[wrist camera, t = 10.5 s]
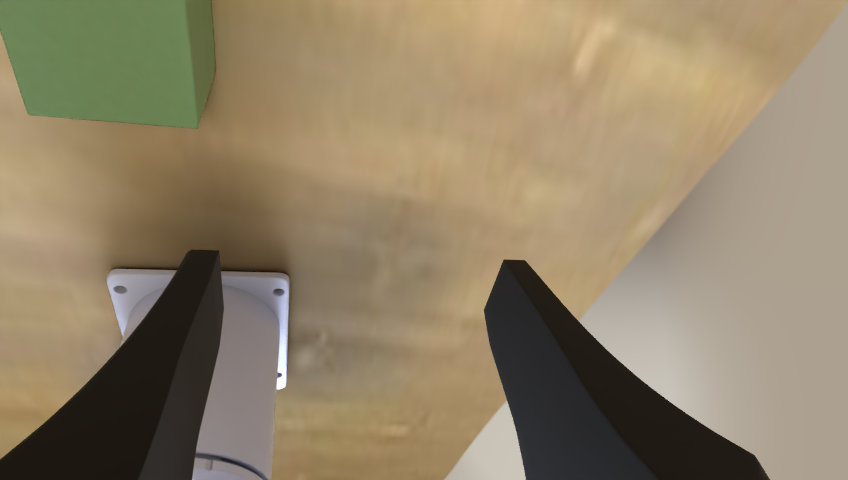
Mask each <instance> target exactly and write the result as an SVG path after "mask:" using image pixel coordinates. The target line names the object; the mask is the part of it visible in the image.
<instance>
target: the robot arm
mask: <svg viewBox="0 0 848 480" xmlns="http://www.w3.org/2000/svg"><path fill="white" fill-rule="evenodd" d="M106 282H107V285H108V289H109V292H110V296H111V299H112V303H113V306H114V310H115V313H116V317H117V320H118V324H119V327H120V331H121V334H122V341H121V344H120V347H119V349H118V350H117V351H116V353H115V354H114V355H113V356H112V357H111V358H110V359H109V360H108V361H107V363H106V364H105V365H104V366H103V367H102V368H101V369H100V370H99V371H98V372H97V373H96V374H95V375H94V376H93V377H92V378H91V379H90V380H89V381H88V382H87V383H86V384H85V385H84V386H83V387H82V388H81V389H80V390H79V391H78V392H77V393H76V394H75V395H74V396H73V397H72V398H71V399H70V400H69V401H68V402H67V403H66V404H65V405H64V406H63V407H61V408H60V409H59V410H58V411H57V412H56V413H55V414H54V415H53V416H52V417H50V418H49V419H48V420H47V421H46V422H45V423H44V424H43V425H41V426H40V427H39V428H38V429H37V430H35V431H34V432H33V433H32V434H31V435H29V436H28V437H27V438H26V439H24V440H23V441H22V442H21V443H20V444H18V445H17V446H16V447H15V448H14V449H12V450H11V451H10V452H9V453H8V454H6V455H5V456H4V457H3V458H1V459H0V480H271V475H272V458H273V441H274V424H275V408H276V391H277V389H281V388H284V387H285V386H286V378H287V348H288V318H289V288H290V279H289V277H288V276H287V275H286V274H284V273H273V272H231V271H221V266H220V254H219V250H191V251H189V252H188V253H187V254H186V256H185V258H184V259H183V261H182V263H181V265H180V266H179V268H178V270H146V269H113V270H111V271H110V272H109V273H108V275H107V278H106ZM120 286H123V287H120ZM278 288H279V289H282V290H277V289H278ZM484 313H485V320H486V326H487V332H488V337H489V342H490V346H491V350H492V353H493V357H494V360H495V363H496V366H497V370H498V373H499V376H500V379H501V382H502V385H503V388H504V392H505V395H506V398H507V401H508V404H509V407H510V411H511V414H512V417H513V420H514V424H515V427H516V431H517V436H518V441H519V446H520V451H521V455H522V460H523V465H524V470H525V476H526V480H770V479H769V478H768V476H767V474H766V473H765V471H764V469H763V468H762V466H761V465H760V463H759V462H758V460H757V458H756V457H755V455H753V454H751V453H750V452H748V451H746V450H744V449H743V448H741V447H739V446H738V445H736V444H734V443H732V442H731V441H729V440H727V439H726V438H724V437H722V436H720V435H719V434H717V433H715V432H714V431H712V430H711V429H709V428H707V427H706V426H704V425H703V424H701V423H699V422H698V421H697V420H695V419H694V418H692V417H691V416H689V415H688V414H686V413H685V412H683V411H682V410H680V409H679V408H677V407H676V406H674V405H673V404H672V403H670V402H669V401H668V400H666V399H665V398H664V397H662V396H661V395H660V394H658V393H657V392H656V391H654V390H653V389H652V388H650V387H649V386H648V385H647V384H645V383H644V382H643V381H641V380H640V379H639V378H638V377H637V376H635V375H634V374H633V373H632V372H631V371H630V370H629V369H627V368H626V367H625V366H624V365H623V364H622V363H621V362H619V361H618V360H617V359H616V358H615V357H614V356H613V355H612V354H611V353H609V352H608V351H607V350H606V349H605V348H604V347H603V346H602V345H601V344H600V343H599V342H598V341H597V340H596V339H595V338H594V337H593V336H592V335H591V334H590V333H589V332H588V331H587V330H586V329H585V328H584V327H583V326H582V325H581V324H580V322H579V321H578V320H577V319H576V318H575V317H574V316H573V315H572V314H571V313H570V312H569V310H568V309H567V308H566V307H565V306H564V305H563V304H562V303H561V301H560V300H559V299H558V298H557V297H556V296H555V295H554V293H553V292H552V291H551V290H550V289H549V288H548V286H547V285H546V284H545V283H544V282H543V281H542V279H541V278H540V277H539V276H538V275H537V274H536V272H535V271H534V270H533V269H532V268H531V267H530V266H529V264H528V263H527V262H526V261H525V260H503V263H502V265H501V268H500V271H499V273H498V276H497V278H496V281H495V283H494V286H493V288H492V291H491V293H490V296H489V299H488V301H487V304H486V306H485V309H484Z"/></svg>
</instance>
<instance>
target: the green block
mask: <svg viewBox="0 0 848 480" xmlns="http://www.w3.org/2000/svg"><path fill="white" fill-rule="evenodd" d="M0 31H1V34H2V37H3V40H4V43H5V46H6V49H7V52H8V55H9V58H10V62H11V65H12V68H13V71H14V74H15V77H16V80H17V83H18V86H19V89H20V92H21V95H22V98H23V101H24V104H25V107H26V110H27V113H28V114H29V115H35V116H48V117H60V118H72V119H84V120H96V121H108V122H121V123H133V124H145V125H157V126H169V127H181V128H194V129H197V128H198V127H199V124H200V121H201V118H202V114H203V111H204V108H205V105H206V101H207V98H208V95H209V91H210V88H211V85H212V82H213V78H214V75H215V72H216V63H215V49H214V35H213V20H212V6H211V0H0Z"/></svg>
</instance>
